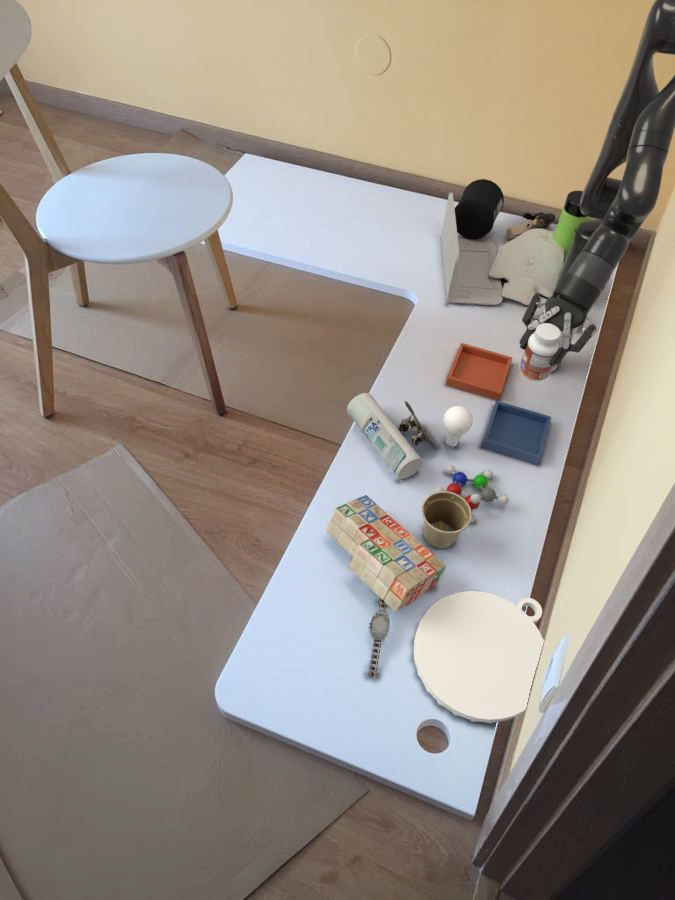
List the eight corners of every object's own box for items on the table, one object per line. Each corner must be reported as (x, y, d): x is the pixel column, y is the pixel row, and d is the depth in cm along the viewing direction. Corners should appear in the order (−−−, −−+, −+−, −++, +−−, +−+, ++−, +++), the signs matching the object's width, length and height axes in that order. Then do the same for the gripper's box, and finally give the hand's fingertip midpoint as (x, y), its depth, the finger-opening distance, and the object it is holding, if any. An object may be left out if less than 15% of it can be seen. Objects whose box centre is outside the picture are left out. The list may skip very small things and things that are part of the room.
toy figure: (525, 232, 201) (560, 221, 208) (516, 211, 201) (552, 200, 208) (508, 243, 207) (542, 232, 215) (499, 222, 207) (534, 211, 214)
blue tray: (493, 407, 168) (496, 400, 166) (548, 423, 166) (551, 416, 164) (480, 447, 161) (483, 440, 159) (537, 465, 159) (541, 458, 157)
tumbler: (574, 247, 207) (594, 191, 194) (577, 263, 202) (597, 207, 189) (547, 244, 207) (566, 188, 194) (549, 260, 203) (568, 204, 189)
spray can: (391, 481, 152) (342, 415, 162) (414, 477, 156) (364, 413, 166) (405, 459, 148) (353, 393, 158) (428, 456, 152) (376, 391, 162)
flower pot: (449, 564, 142) (458, 541, 135) (407, 541, 145) (412, 517, 138) (471, 530, 147) (479, 505, 140) (429, 508, 150) (436, 483, 143)
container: (448, 241, 207) (465, 209, 218) (491, 246, 203) (506, 213, 214) (448, 201, 198) (466, 170, 209) (493, 205, 194) (509, 173, 205)
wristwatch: (392, 600, 137) (394, 595, 132) (380, 680, 131) (381, 678, 127) (372, 596, 137) (374, 591, 132) (360, 677, 132) (361, 674, 127)
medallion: (485, 749, 119) (482, 754, 121) (588, 649, 131) (584, 654, 132) (386, 641, 129) (385, 647, 131) (490, 557, 141) (487, 564, 143)
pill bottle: (522, 357, 153) (536, 316, 144) (551, 366, 151) (567, 325, 143) (515, 376, 149) (529, 336, 140) (545, 386, 148) (561, 346, 139)
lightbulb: (468, 438, 162) (478, 404, 154) (461, 458, 159) (471, 425, 150) (441, 430, 163) (449, 396, 155) (434, 450, 160) (442, 417, 151)
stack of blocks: (355, 517, 148) (313, 535, 139) (366, 493, 145) (324, 511, 136) (433, 589, 139) (394, 613, 130) (447, 565, 136) (408, 589, 127)
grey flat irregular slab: (484, 281, 188) (511, 214, 205) (480, 294, 192) (506, 227, 209) (552, 303, 186) (573, 234, 202) (546, 317, 190) (567, 247, 206)
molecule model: (424, 479, 158) (436, 524, 147) (430, 452, 153) (442, 497, 142) (493, 481, 159) (509, 526, 149) (500, 454, 155) (517, 499, 144)
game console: (503, 307, 189) (518, 259, 177) (446, 304, 189) (456, 254, 177) (493, 241, 207) (505, 192, 195) (440, 237, 206) (449, 188, 194)
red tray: (459, 350, 179) (461, 342, 177) (510, 364, 177) (512, 357, 175) (445, 385, 172) (447, 377, 170) (498, 400, 170) (501, 393, 168)
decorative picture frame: (439, 462, 154) (414, 456, 164) (458, 439, 155) (433, 435, 165) (403, 422, 150) (380, 419, 160) (423, 399, 151) (399, 397, 161)
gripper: (549, 259, 141) (501, 336, 145) (616, 293, 136) (565, 372, 139) (555, 269, 148) (509, 342, 151) (620, 302, 143) (571, 377, 146)
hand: (536, 356), depth 145 cm, fingers closed on pill bottle, 6 cm apart
